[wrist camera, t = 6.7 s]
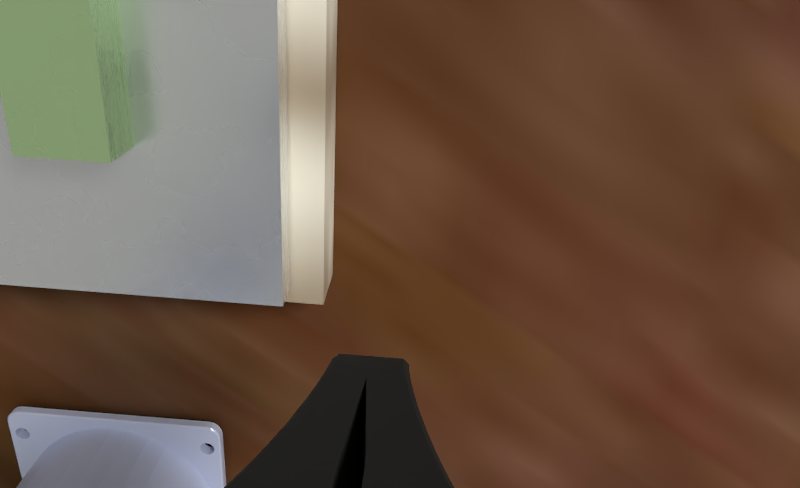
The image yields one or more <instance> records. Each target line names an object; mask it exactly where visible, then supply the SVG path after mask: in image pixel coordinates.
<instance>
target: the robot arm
mask: <svg viewBox="0 0 800 488" xmlns="http://www.w3.org/2000/svg"><path fill="white" fill-rule="evenodd" d="M8 425H9V429H10V433H11V437H12V441H13V445H14V449H15V453H16V457H17V461H18V465H19V469H20V473H21V477H22V480H21V482H20V483H19V484H18V486H17V487H16V488H454V487H453V485H452V483H451V481H450V479H449V477H448V475H447V474H446V472H445V470H444V468H443V466H442V464H441V461H440V459H439V457H438V455H437V453H436V451H435V449H434V447H433V444H432V442H431V440H430V437H429V435H428V432H427V430H426V427H425V425H424V422H423V420H422V417H421V414H420V412H419V409H418V406H417V402H416V399H415V396H414V392H413V388H412V384H411V379H410V373H409V364H408V363H407V362H406V361H405V360H404V359H398V358H385V357H373V356H360V355H348V354H338V355H337V356H335V357H334V358H333V359H332V361H331V363H330V364H329V366H328V368H327V369H326V371H325V373H324V374H323V376H322V377H321V379H320V380H319V382H318V383H317V385H316V386H315V387H314V389H313V390H312V392H311V393H310V394H309V396H308V397H307V398H306V400H305V401H304V402H303V404H302V405H301V406H300V407H299V409H298V410H297V411H296V412H295V414H294V415H293V416H292V418H291V419H290V420H289V421H288V422H287V424H286V425H285V426H284V427H283V428H282V429H281V430H280V432H279V433H278V434H277V435H276V436H275V437H274V438H273V439H272V440H271V441H270V443H269V444H268V445H267V446H266V447H265V448H264V449H263V450H262V451H261V452H260V453H259V455H258V456H257V457H256V458H255V459H254V460H253V461H252V462H251V463H250V464H249V465H248V466H247V467H245V468H244V469H243V470H242V471H241V472H240V473H239V474H238V475H237V476H236V477H235V478H234V479H233V480H232V481H230V482H229V483H228V484H227V485H226V474H225V460H224V446H223V433H222V430H221V428H220V427H219V426H218V425H217V424H215V423H212V422H208V421H195V420H183V419H171V418H159V417H146V416H134V415H122V414H110V413H97V412H85V411H73V410H61V409H48V408H36V407H24V406H22V407H17V408H15V409H14V410H13V411H12V412H11V413H10V414H9V416H8ZM24 429H26V430H27V431H26V430H24ZM205 443H208V444H211V445H212V446H213V447H210V446H207V445H206V444H205Z"/></svg>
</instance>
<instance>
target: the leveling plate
mask: <svg viewBox="0 0 800 488" xmlns="http://www.w3.org/2000/svg"><path fill="white" fill-rule="evenodd" d="M0 284H1V285H14V286H26V287H39V288H52V289H65V290H78V291H91V292H104V293H116V294H129V295H142V296H155V297H168V298H181V299H193V300H206V301H219V302H232V303H245V304H258V305H271V306H283V305H284V303H285V300H286V298H287V295H288V293H289V290H290V261H289V186H288V111H287V36H286V0H0Z"/></svg>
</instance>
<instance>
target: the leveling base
mask: <svg viewBox="0 0 800 488" xmlns="http://www.w3.org/2000/svg"><path fill="white" fill-rule="evenodd" d="M286 36H287V111H288V186H289V261H290V290H289V293H288V295H287V298H286V300H285V302H296V303H309V304H322V305H323V304H324V301H325V297H326V294H327V291H328V287H329V284H330V281H331V278H332V274H333V225H334V168H335V110H336V53H337V0H286Z"/></svg>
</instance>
